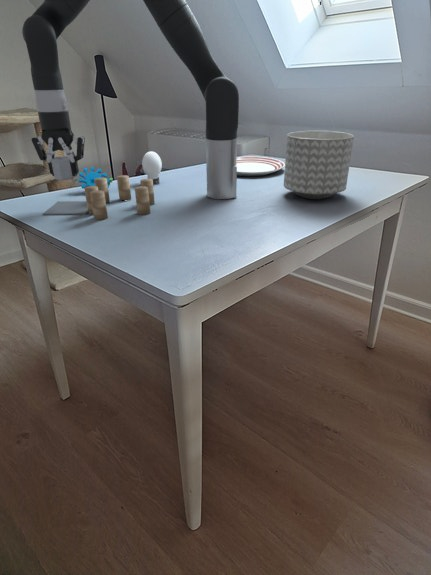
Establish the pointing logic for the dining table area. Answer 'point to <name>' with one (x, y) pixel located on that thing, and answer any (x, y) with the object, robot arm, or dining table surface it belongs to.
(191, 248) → the dining table surface
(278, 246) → the dining table surface
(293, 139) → the planter
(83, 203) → the mat
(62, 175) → the grey block
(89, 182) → the gear
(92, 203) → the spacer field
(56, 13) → the robot arm
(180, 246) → the dining table surface
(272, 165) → the dinner plate
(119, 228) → the dining table surface
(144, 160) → the light bulb
